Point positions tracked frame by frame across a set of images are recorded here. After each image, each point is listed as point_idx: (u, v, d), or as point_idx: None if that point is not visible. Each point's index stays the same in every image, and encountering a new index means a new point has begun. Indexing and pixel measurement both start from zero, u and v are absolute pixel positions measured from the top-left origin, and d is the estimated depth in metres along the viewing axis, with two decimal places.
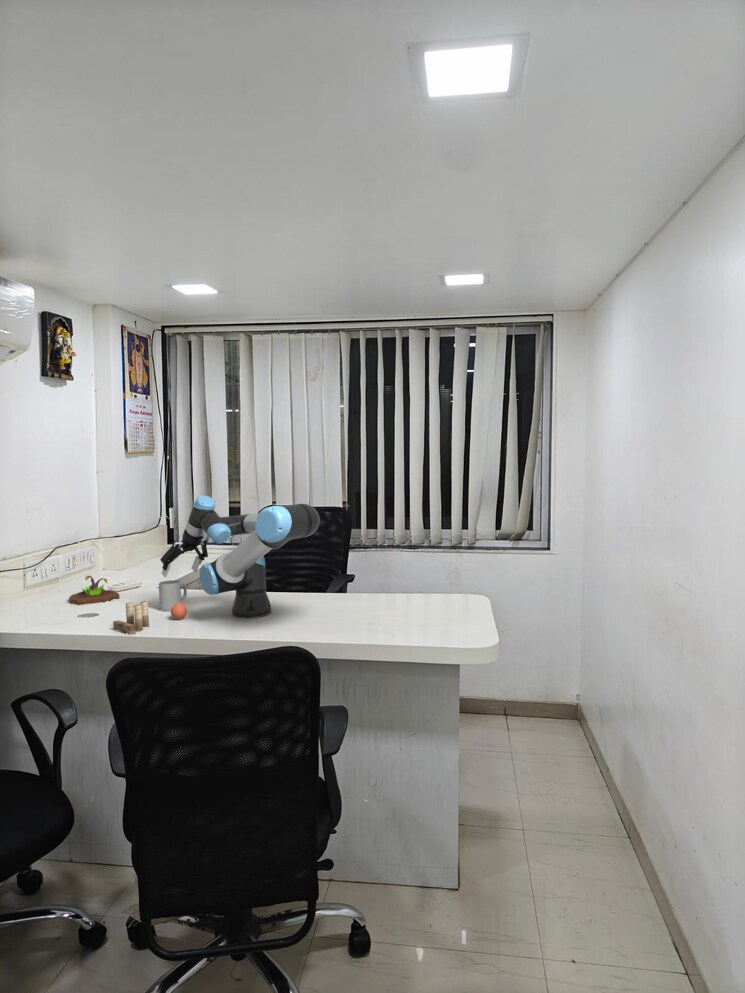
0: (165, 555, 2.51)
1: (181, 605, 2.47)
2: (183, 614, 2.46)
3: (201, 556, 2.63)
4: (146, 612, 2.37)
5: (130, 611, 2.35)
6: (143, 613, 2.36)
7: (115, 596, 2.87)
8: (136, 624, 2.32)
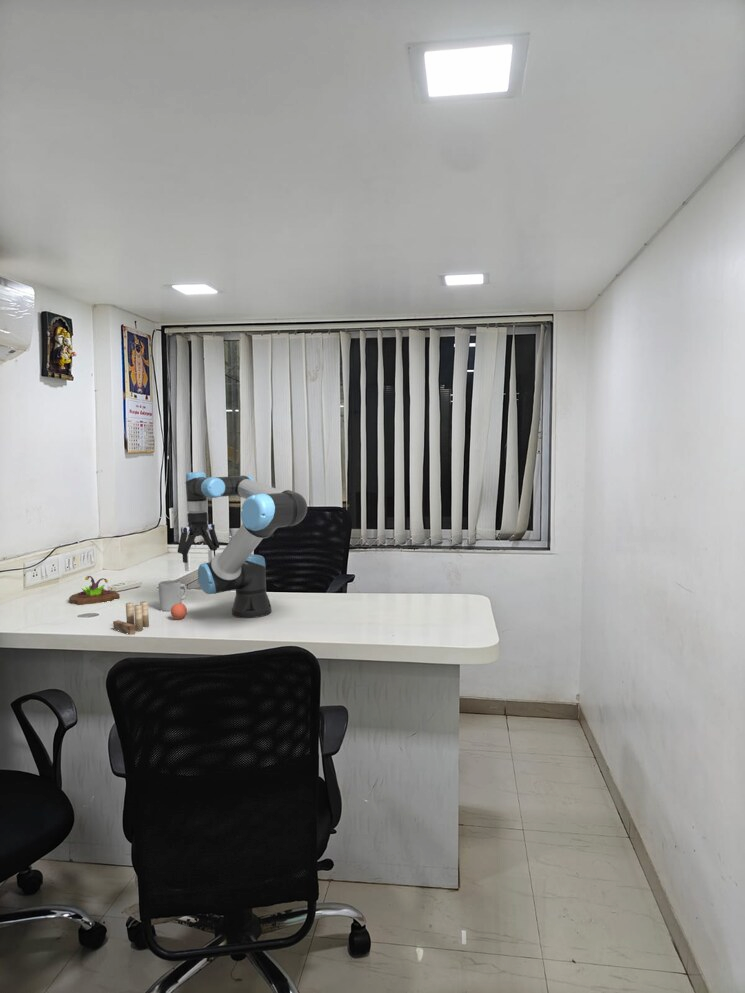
0: (179, 545, 2.48)
1: (181, 605, 2.47)
2: (183, 614, 2.46)
3: (213, 546, 2.58)
4: (146, 612, 2.37)
5: (130, 611, 2.35)
6: (143, 613, 2.36)
7: (115, 596, 2.86)
8: (136, 624, 2.32)
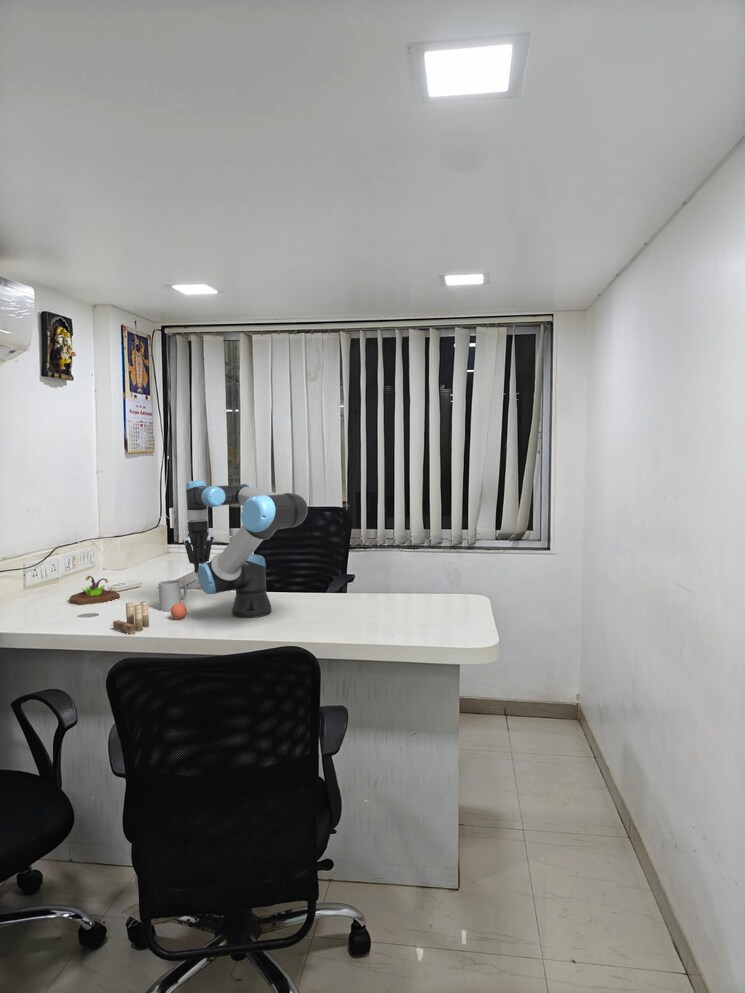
0: (188, 556, 2.52)
1: (181, 605, 2.47)
2: (183, 614, 2.46)
3: (204, 559, 2.55)
4: (146, 612, 2.37)
5: (130, 611, 2.35)
6: (143, 613, 2.36)
7: (115, 596, 2.86)
8: (136, 624, 2.32)
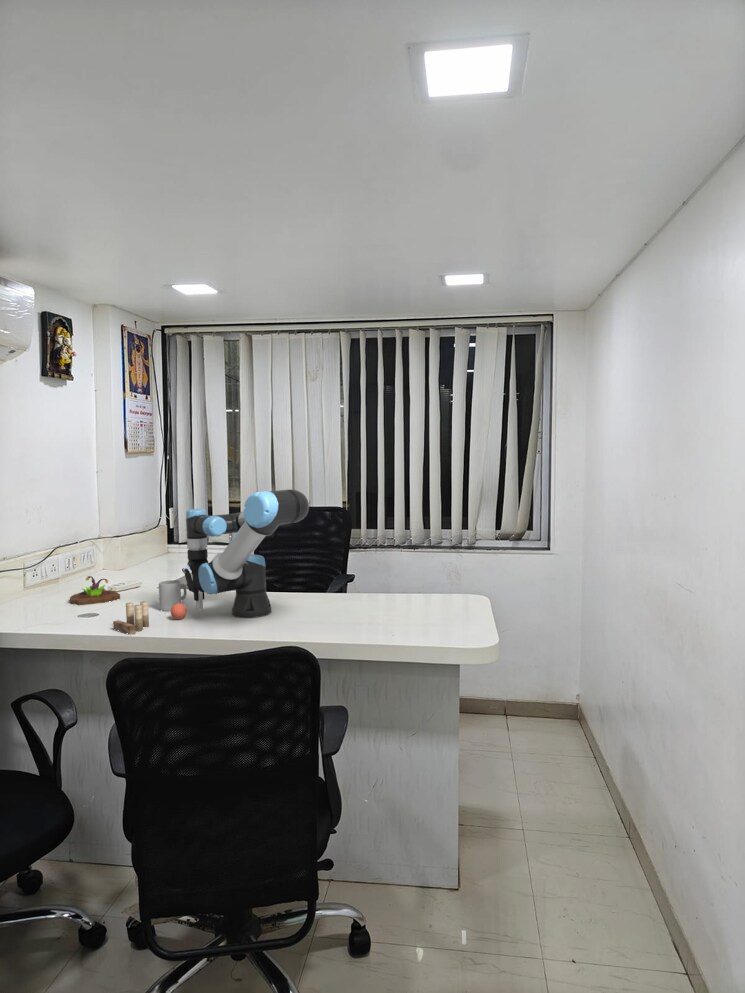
0: (188, 584, 2.52)
1: (181, 605, 2.47)
2: (183, 614, 2.46)
3: None
4: (146, 612, 2.37)
5: (130, 611, 2.35)
6: (143, 613, 2.36)
7: (116, 596, 2.86)
8: (136, 624, 2.32)
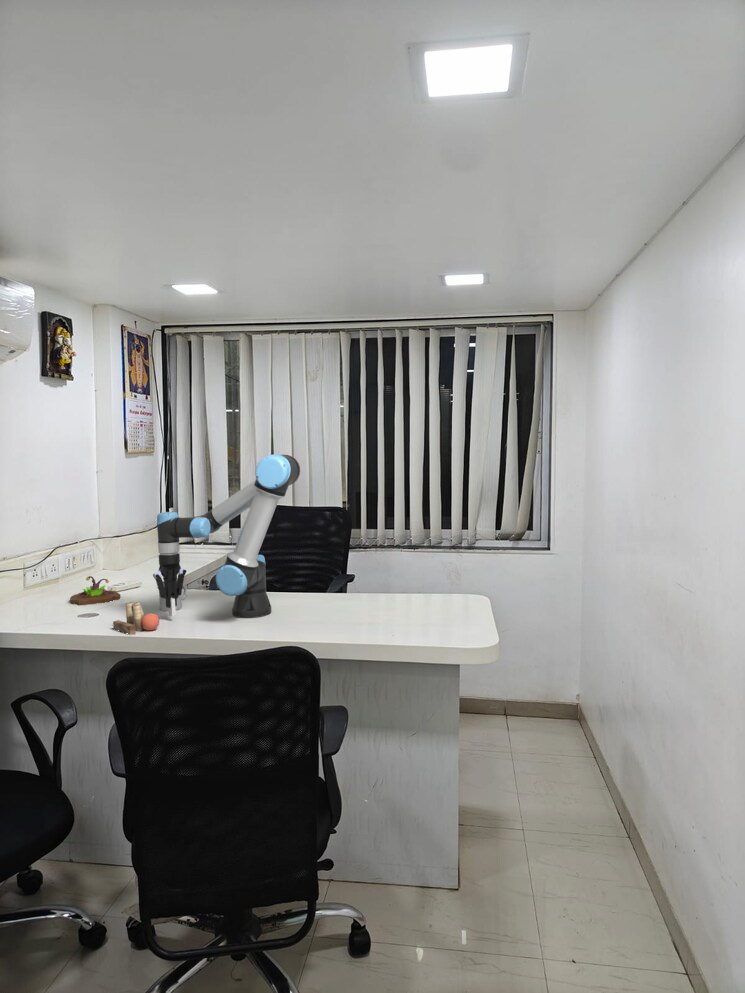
0: (159, 591, 2.42)
1: None
2: (157, 624, 2.32)
3: (176, 593, 2.46)
4: (141, 612, 2.36)
5: (130, 611, 2.35)
6: None
7: (116, 596, 2.86)
8: (136, 624, 2.31)
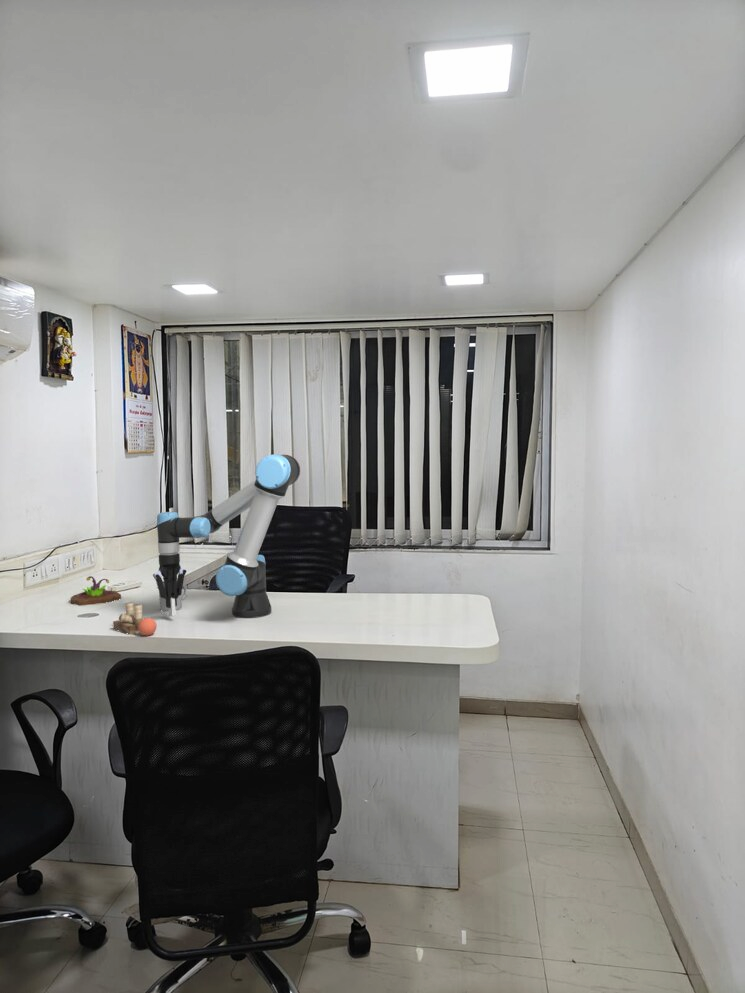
0: (159, 591, 2.42)
1: (153, 626, 2.25)
2: None
3: (176, 593, 2.46)
4: (131, 619, 2.33)
5: (130, 611, 2.35)
6: (130, 622, 2.33)
7: (117, 597, 2.85)
8: (136, 624, 2.32)
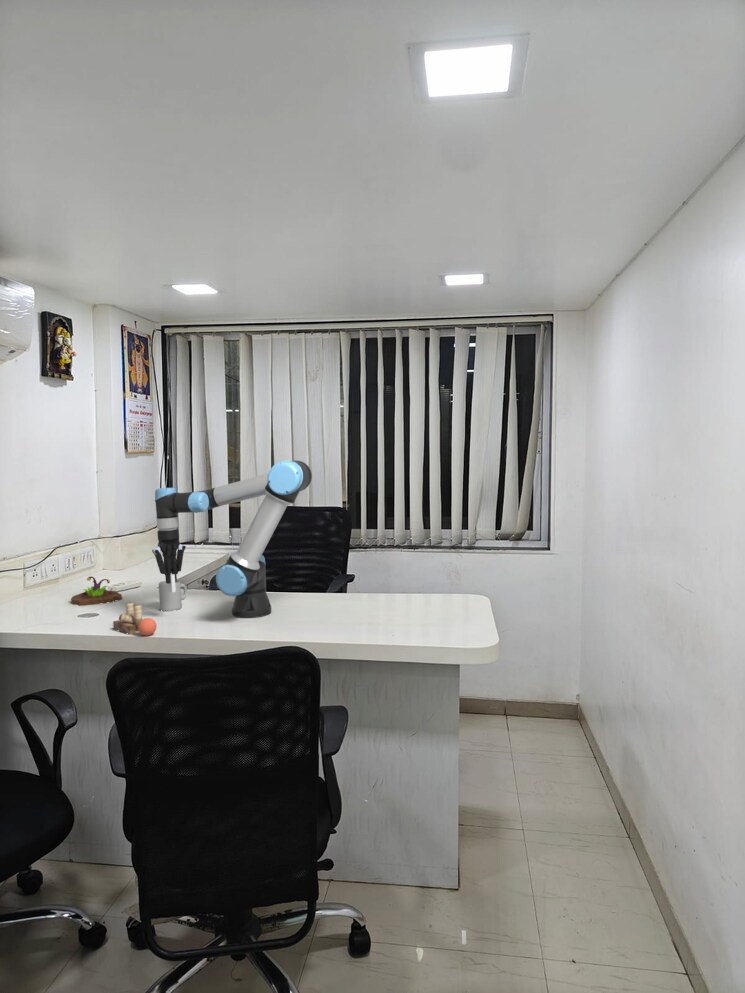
0: (159, 566, 2.42)
1: (153, 626, 2.25)
2: None
3: (175, 569, 2.45)
4: (131, 619, 2.33)
5: (130, 611, 2.35)
6: (130, 622, 2.33)
7: (117, 597, 2.85)
8: (136, 624, 2.32)
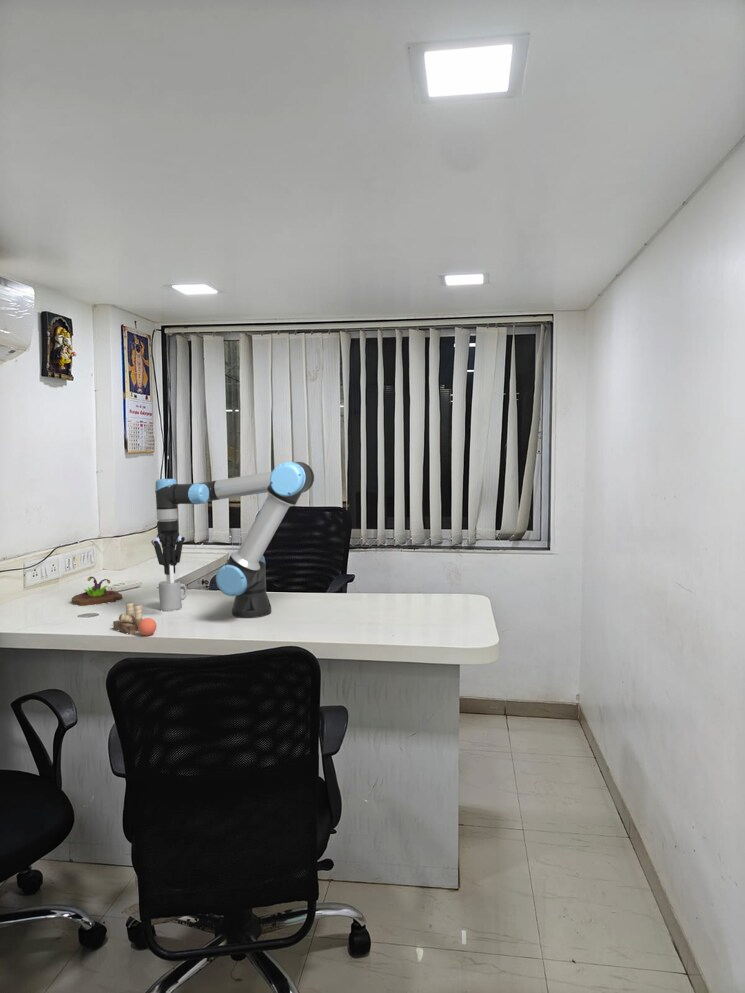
0: (158, 557, 2.42)
1: (153, 626, 2.25)
2: None
3: (174, 561, 2.45)
4: (131, 619, 2.33)
5: (130, 611, 2.35)
6: (130, 622, 2.33)
7: (118, 597, 2.84)
8: (136, 624, 2.32)
